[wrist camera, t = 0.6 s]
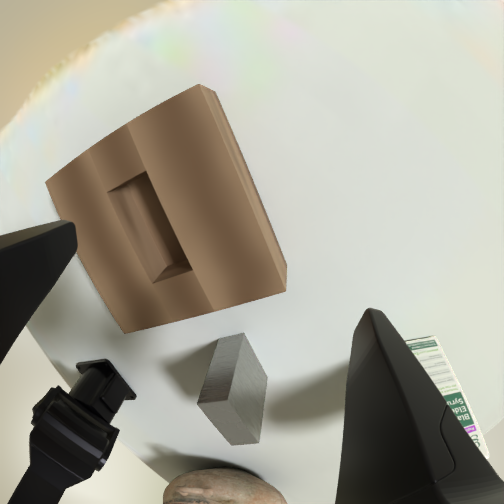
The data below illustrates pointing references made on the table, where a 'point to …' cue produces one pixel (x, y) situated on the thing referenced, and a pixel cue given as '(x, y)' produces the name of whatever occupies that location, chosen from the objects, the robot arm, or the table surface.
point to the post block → (170, 216)
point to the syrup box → (447, 385)
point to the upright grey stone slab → (235, 391)
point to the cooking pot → (221, 488)
